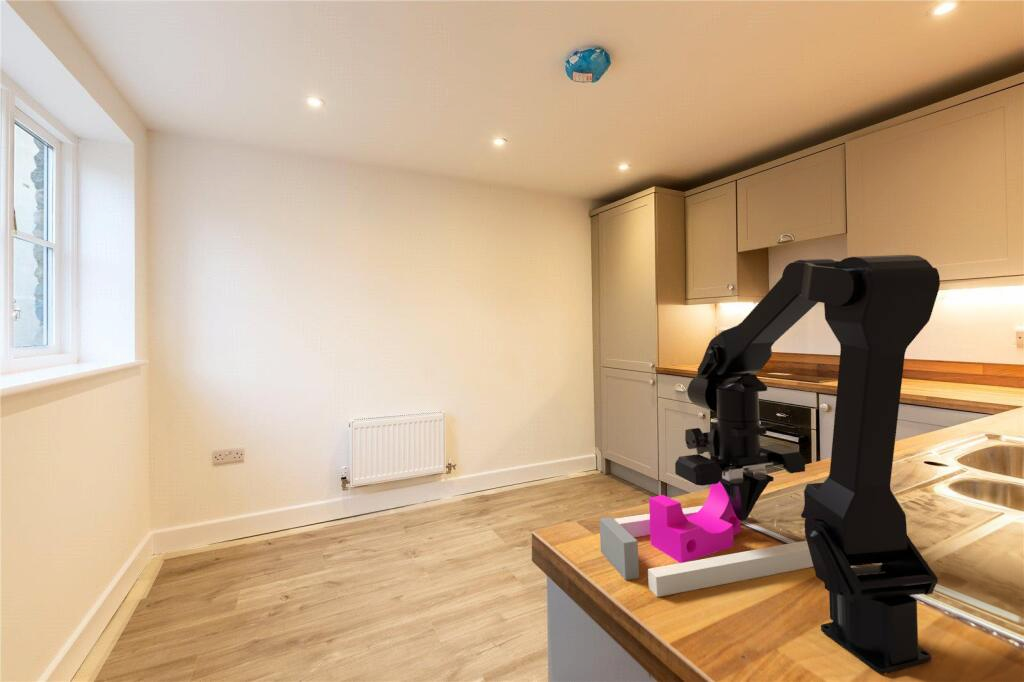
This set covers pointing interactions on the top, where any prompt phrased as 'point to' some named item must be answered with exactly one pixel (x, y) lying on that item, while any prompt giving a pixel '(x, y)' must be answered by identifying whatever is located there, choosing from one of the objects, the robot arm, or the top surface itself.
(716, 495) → the toy block
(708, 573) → the chute
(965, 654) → the top surface
